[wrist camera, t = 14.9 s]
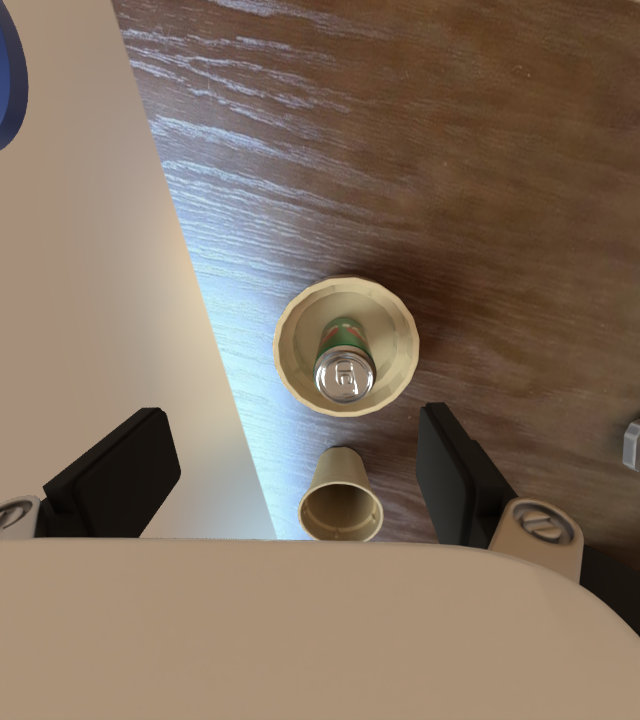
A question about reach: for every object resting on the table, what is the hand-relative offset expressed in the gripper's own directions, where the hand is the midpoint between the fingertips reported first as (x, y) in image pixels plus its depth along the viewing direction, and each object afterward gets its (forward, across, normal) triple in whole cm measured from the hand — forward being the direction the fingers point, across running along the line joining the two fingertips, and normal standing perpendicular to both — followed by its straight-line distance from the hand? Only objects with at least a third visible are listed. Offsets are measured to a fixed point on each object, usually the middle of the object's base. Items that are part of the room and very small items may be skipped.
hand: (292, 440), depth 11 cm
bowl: (+24, -2, +3) cm, 25 cm away
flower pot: (+24, -2, +21) cm, 32 cm away
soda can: (+24, -2, +3) cm, 24 cm away
